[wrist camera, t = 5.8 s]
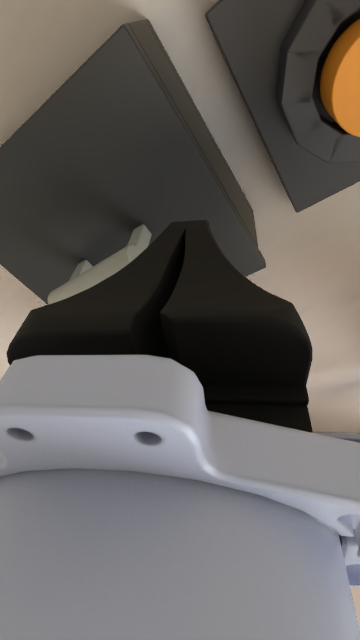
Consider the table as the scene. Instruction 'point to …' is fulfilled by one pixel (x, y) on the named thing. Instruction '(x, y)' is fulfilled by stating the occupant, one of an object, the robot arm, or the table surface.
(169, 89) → the dark grey lipped box
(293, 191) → the orange push button box
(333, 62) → the button
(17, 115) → the table surface
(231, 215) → the lid
